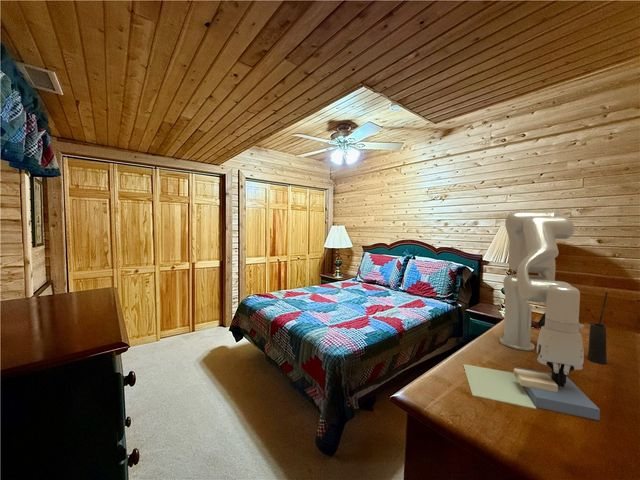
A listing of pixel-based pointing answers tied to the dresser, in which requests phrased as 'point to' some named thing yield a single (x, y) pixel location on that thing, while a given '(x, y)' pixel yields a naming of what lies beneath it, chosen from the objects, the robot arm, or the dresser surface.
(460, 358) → the dresser surface
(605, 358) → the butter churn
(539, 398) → the slate blue tile
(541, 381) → the birch block
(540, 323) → the dark brown angled stand
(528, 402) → the mat
